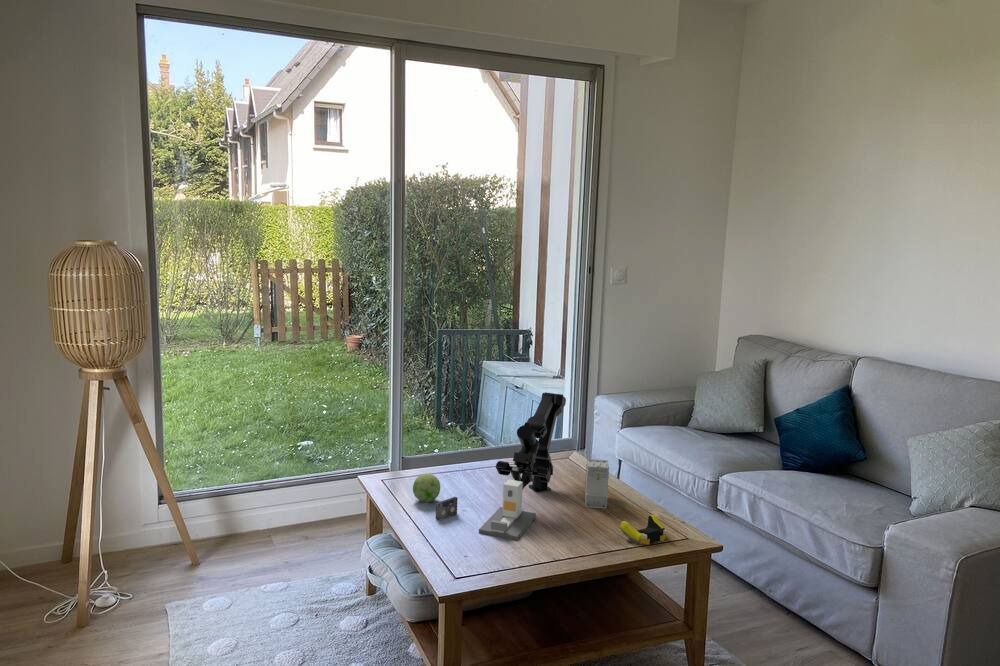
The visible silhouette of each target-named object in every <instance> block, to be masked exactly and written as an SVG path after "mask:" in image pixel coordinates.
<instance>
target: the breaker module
mask: <svg viewBox="0 0 1000 666" xmlns="http://www.w3.org/2000/svg"><path fill="white" fill-rule="evenodd" d="M522 486H523V482H522V481H516V480H515V479H507V481H505V482H504V483H503V491H502V492H503V493H502V507H503V514H502V516H503V517H505V516H507V517H512V518H516V520H517V519H518V518H519V516H520V515H521V510H522V511H523V509H522V507H523V490H522Z"/></svg>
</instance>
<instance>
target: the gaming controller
mask: <svg viewBox="0 0 1000 666" xmlns="http://www.w3.org/2000/svg"><path fill="white" fill-rule="evenodd" d="M647 517H648V518H647V526H646V527H645V528H642V529H635V528H634V527H633V526H632V525H630V523H628V521H626V520H623V521H621V523H620V526H619V528H620V531H621V532H622V534H623V535H624V536H626V537H627V538H628V539H630V540H632V541H634V542H635V543H636V544H637V543H638V544H637V545H647V546H649V545H651V544H655V543H659V542H663V541H664V540H665V539H666V537H667V531H668V530H667V528H666V527H664V526H663V525H662V523H661V521H660V520H659V518H658V516H656V514H650V515H649V514H648V516H647ZM658 541H659V542H658Z"/></svg>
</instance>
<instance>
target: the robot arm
mask: <svg viewBox="0 0 1000 666" xmlns="http://www.w3.org/2000/svg"><path fill="white" fill-rule="evenodd" d="M566 402H567V398H566V397H565V396H564V395H563V393H553V392H542V395H541V399H540V402H539V404H538V406H537V408H536V411H535V412H534V414H533V416H531V417H528V419H527V421H526V422H524V424H523V425H521V426H519V427H518V428H517V430H516V435H517V438H518V441H519V444H520V445H521V448H520V450H518V451H519V452H516V451H514V452H513V456H512V457H513V459H512V462H513V463H514V465H512V466H511V465H510V463H509V461H503V460H498V461H497V462H496V463H495V464H496V465H495V469H496V471H497V473H498V475H500V476H501V475H502V476H507V477H508V476H509V475H511V477H512V478H513V480H516V481H522V482H523V486H522V491H523V490H524V488H525V487H526V486H527V485H528V488H530V489H531V490H533V491H534V492H535V493H538V492H539V493H540V492H547V491H551V490H552V488H551V487H550V486H548V485H549V483H550V481H551V479H552V477H551V476H553V475H554V465H553V463H552V458H551V454H550V445H551V443H552V439H553V434H554V429H555V426H556V421H557V417H558V416H559V415H560V414H561V413H562V412H563V410H564V407H565V406H566ZM530 483H531V484H530Z"/></svg>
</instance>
